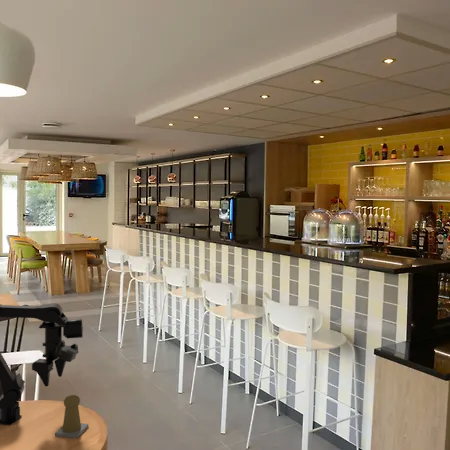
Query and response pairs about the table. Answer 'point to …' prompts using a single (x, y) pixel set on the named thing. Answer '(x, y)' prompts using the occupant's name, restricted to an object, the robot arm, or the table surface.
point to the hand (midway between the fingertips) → (53, 381)
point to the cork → (71, 414)
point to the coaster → (72, 434)
